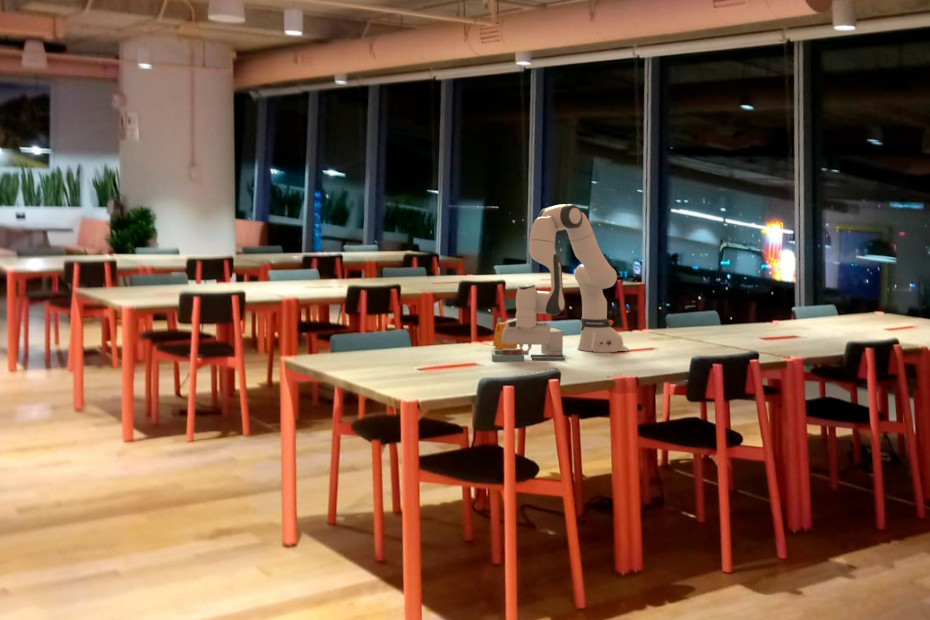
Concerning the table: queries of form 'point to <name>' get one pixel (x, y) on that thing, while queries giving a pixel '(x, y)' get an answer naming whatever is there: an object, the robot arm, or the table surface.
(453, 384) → the table surface
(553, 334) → the skincare box
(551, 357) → the slot rails
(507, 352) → the chip
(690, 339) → the table surface
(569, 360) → the table surface
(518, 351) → the chip
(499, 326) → the bracket
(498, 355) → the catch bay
